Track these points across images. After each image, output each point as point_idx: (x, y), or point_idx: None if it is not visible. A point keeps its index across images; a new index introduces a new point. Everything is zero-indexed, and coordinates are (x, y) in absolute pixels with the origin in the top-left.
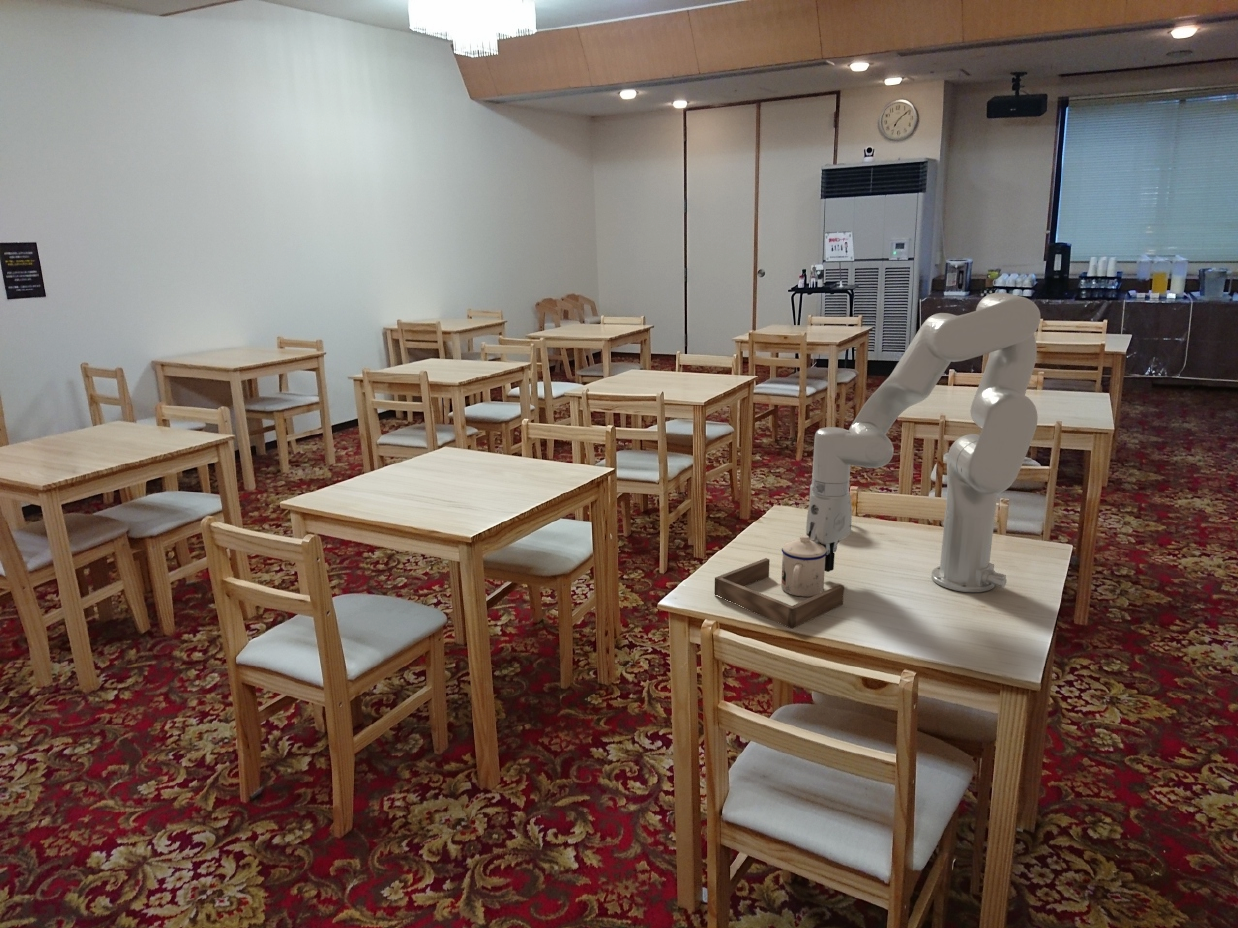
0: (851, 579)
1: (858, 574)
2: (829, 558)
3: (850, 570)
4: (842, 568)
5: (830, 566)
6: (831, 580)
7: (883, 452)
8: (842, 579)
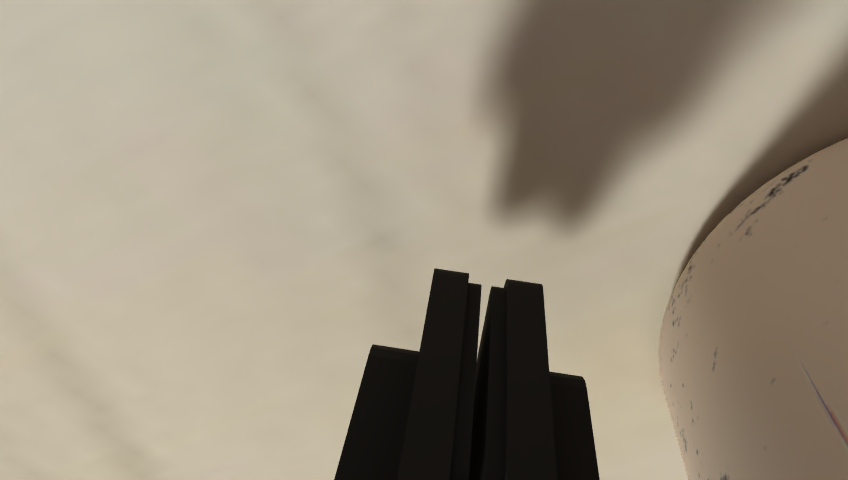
0: (255, 32)
1: (56, 43)
2: (549, 443)
3: (51, 172)
4: (87, 257)
5: (518, 321)
6: (460, 199)
7: None
8: (341, 118)
